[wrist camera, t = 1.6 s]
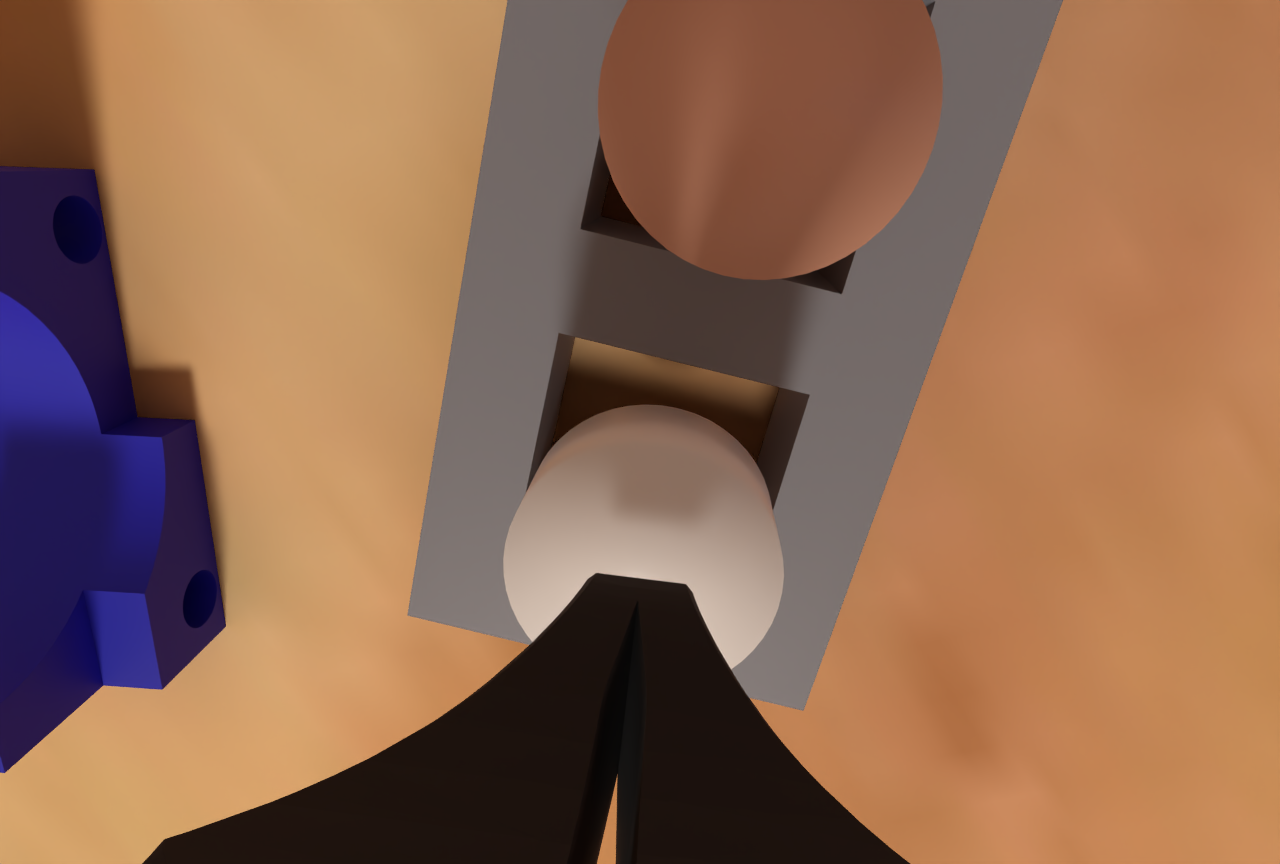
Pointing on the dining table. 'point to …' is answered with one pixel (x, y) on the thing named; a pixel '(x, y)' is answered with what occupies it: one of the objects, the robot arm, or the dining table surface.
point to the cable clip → (85, 479)
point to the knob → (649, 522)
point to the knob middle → (768, 125)
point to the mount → (700, 320)
